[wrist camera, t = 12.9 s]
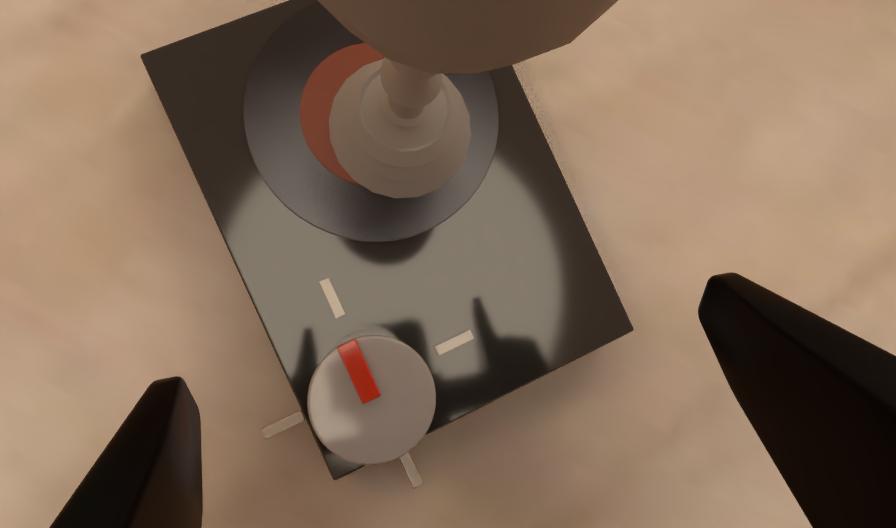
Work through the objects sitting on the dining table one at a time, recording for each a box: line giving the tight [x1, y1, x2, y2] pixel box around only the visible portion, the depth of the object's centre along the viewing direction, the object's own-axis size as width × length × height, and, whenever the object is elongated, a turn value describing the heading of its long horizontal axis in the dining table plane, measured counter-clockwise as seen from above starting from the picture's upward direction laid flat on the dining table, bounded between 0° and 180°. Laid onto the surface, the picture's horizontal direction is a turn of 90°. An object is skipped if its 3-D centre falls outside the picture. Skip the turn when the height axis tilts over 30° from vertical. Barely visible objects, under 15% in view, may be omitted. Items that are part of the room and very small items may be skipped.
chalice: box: [318, 0, 618, 198], centre depth 13 cm, size 7×7×18 cm
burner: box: [243, 1, 499, 241], centre depth 22 cm, size 9×9×1 cm
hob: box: [141, 0, 633, 488], centre depth 22 cm, size 17×13×2 cm
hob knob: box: [307, 330, 436, 465], centre depth 19 cm, size 4×4×4 cm
